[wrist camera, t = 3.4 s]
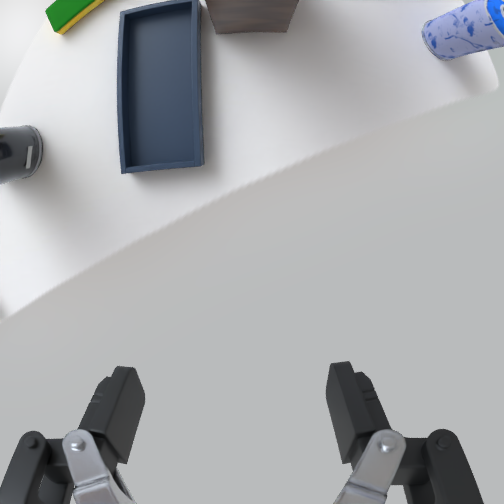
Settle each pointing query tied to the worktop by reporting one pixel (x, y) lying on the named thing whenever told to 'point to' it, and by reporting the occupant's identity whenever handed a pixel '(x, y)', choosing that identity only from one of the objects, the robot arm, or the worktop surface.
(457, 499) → the robot arm
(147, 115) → the tray
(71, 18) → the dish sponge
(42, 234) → the worktop surface
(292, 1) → the stand
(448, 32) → the aerosol can
